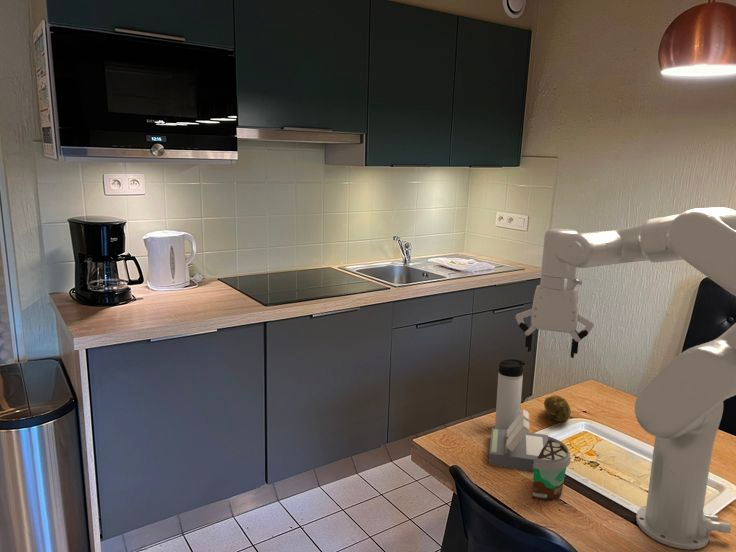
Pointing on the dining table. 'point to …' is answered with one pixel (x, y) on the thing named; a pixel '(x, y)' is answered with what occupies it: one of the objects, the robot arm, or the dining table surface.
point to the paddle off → (517, 436)
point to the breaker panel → (516, 450)
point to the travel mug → (508, 392)
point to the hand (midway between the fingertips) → (550, 353)
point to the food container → (550, 470)
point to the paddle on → (517, 423)
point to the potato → (557, 408)
